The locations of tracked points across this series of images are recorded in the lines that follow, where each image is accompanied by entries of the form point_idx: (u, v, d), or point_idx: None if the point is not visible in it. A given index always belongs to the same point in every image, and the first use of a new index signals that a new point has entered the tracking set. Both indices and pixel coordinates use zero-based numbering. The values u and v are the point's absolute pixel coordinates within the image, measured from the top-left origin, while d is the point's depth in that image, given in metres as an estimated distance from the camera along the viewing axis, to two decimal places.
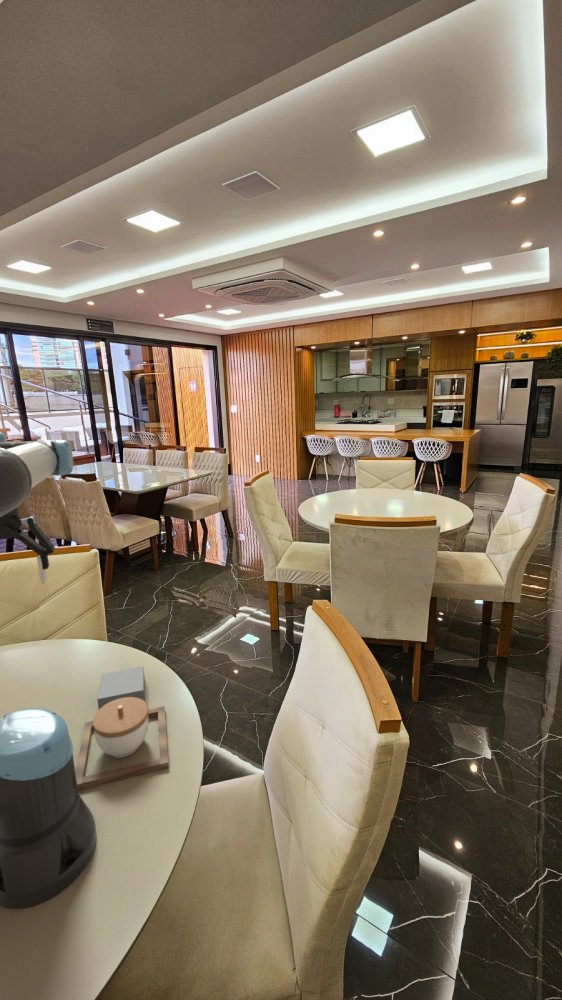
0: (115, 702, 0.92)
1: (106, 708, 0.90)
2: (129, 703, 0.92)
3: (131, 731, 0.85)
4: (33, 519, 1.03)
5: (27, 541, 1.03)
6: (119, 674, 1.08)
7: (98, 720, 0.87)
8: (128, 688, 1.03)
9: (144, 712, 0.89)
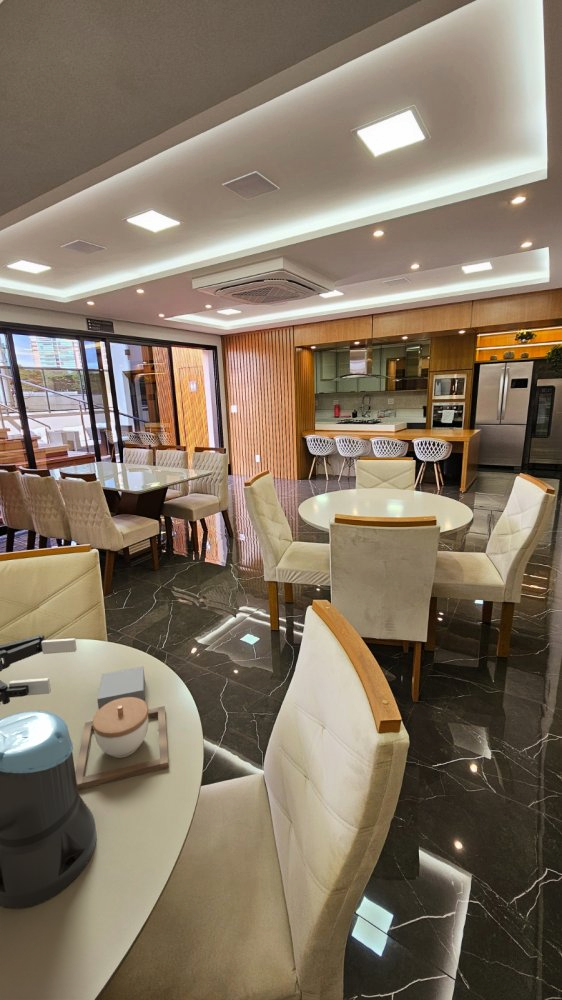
0: (115, 702, 0.92)
1: (106, 708, 0.90)
2: (129, 703, 0.92)
3: (131, 731, 0.85)
4: None
5: (16, 648, 0.89)
6: (119, 674, 1.08)
7: (98, 720, 0.87)
8: (128, 688, 1.03)
9: (143, 712, 0.89)
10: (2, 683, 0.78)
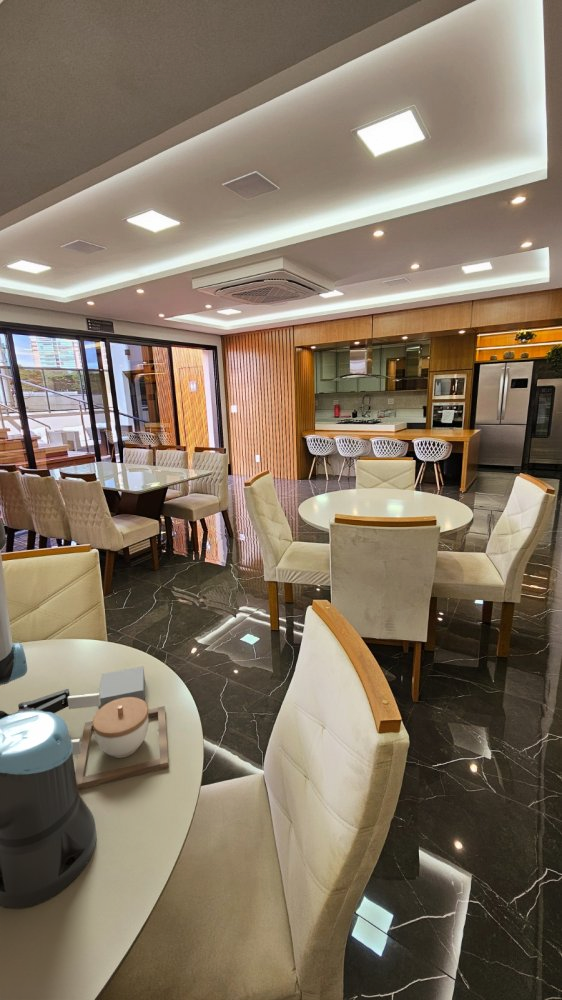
0: (115, 702, 0.92)
1: (106, 708, 0.90)
2: (129, 703, 0.92)
3: (131, 731, 0.85)
4: None
5: (43, 705, 0.93)
6: (119, 674, 1.08)
7: (98, 720, 0.87)
8: (128, 688, 1.03)
9: (144, 712, 0.89)
10: None
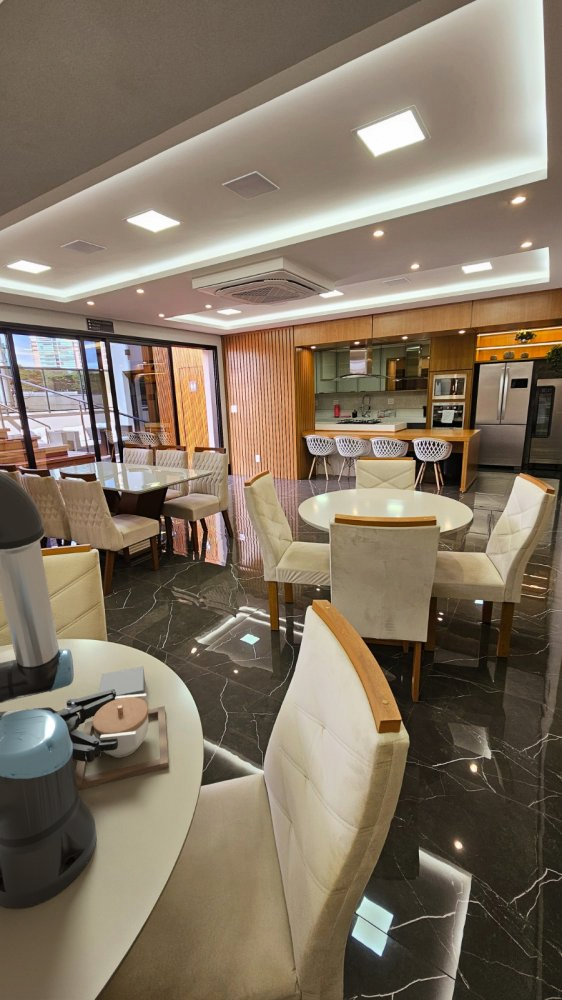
0: (115, 702, 0.92)
1: (106, 708, 0.90)
2: (129, 703, 0.92)
3: (131, 731, 0.85)
4: None
5: (91, 704, 0.92)
6: (119, 674, 1.08)
7: (98, 720, 0.87)
8: (128, 688, 1.03)
9: (144, 712, 0.89)
10: (92, 737, 0.83)
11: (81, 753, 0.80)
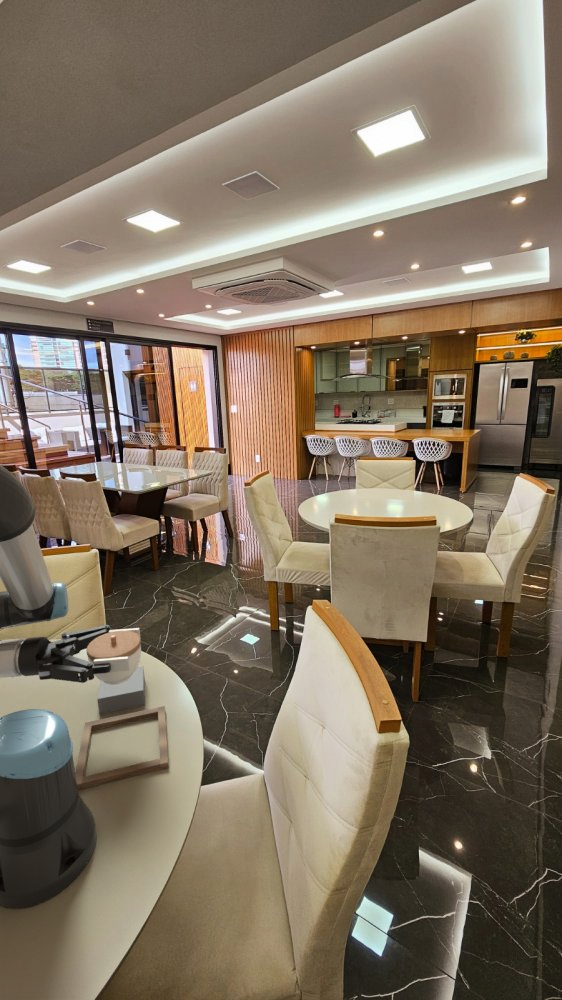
0: (109, 634, 0.95)
1: (100, 639, 0.93)
2: (122, 635, 0.95)
3: None
4: None
5: (85, 636, 0.95)
6: None
7: (91, 648, 0.90)
8: (128, 688, 1.03)
9: (136, 641, 0.92)
10: (86, 661, 0.86)
11: (75, 674, 0.83)
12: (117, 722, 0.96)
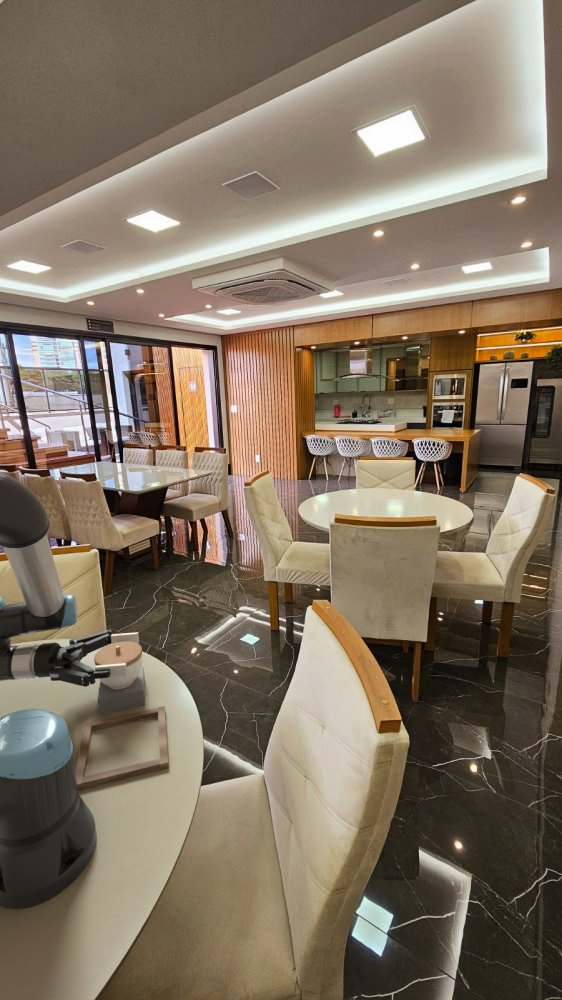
0: (113, 644, 1.07)
1: (106, 649, 1.05)
2: (125, 645, 1.06)
3: (127, 665, 1.00)
4: None
5: (91, 640, 1.07)
6: None
7: (98, 657, 1.02)
8: (128, 688, 1.03)
9: (138, 651, 1.04)
10: (89, 667, 0.96)
11: (79, 678, 0.94)
12: (117, 722, 0.96)
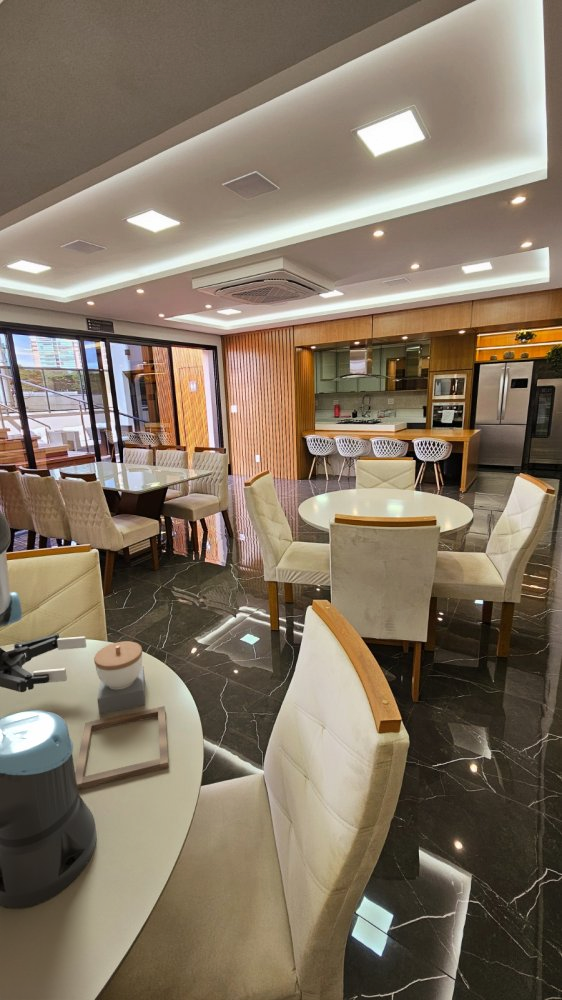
0: (113, 644, 1.07)
1: (106, 649, 1.05)
2: (125, 645, 1.06)
3: (127, 665, 1.00)
4: None
5: (36, 645, 1.06)
6: None
7: (98, 657, 1.02)
8: (128, 688, 1.03)
9: (138, 651, 1.04)
10: (27, 672, 0.95)
11: (15, 684, 0.92)
12: (117, 722, 0.96)
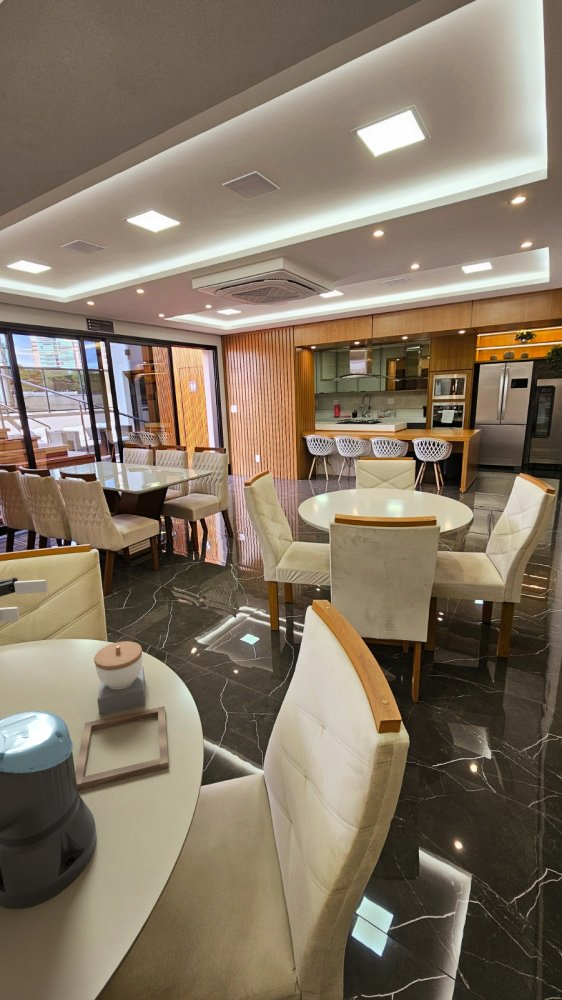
0: (113, 644, 1.07)
1: (106, 649, 1.05)
2: (125, 645, 1.06)
3: (127, 665, 1.00)
4: None
5: None
6: None
7: (98, 657, 1.02)
8: (128, 688, 1.03)
9: (138, 651, 1.04)
10: None
11: None
12: (117, 722, 0.96)
